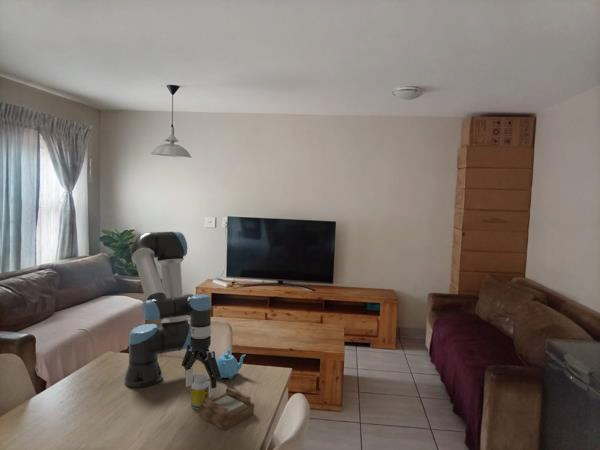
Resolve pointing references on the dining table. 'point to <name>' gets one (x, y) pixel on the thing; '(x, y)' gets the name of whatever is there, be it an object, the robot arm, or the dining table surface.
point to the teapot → (228, 365)
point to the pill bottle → (199, 390)
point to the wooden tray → (227, 409)
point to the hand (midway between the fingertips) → (200, 390)
